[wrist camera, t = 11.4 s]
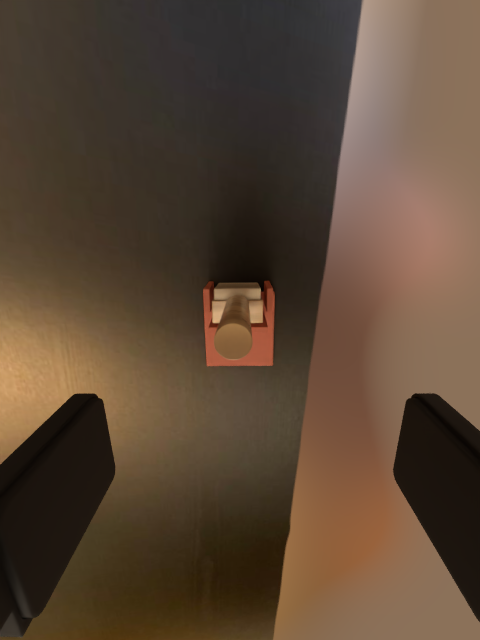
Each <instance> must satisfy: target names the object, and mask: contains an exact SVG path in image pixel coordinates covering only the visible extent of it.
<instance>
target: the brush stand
mask: <svg viewBox="0 0 480 640" xmlns="http://www.w3.org/2000/svg"><path fill="white" fill-rule="evenodd" d="M203 292H204V293H203V301H204V321H205V340H206V360H207V366H273V343H274V305H275V292H274V291H273V288H272V286H271V284H270V282H269V281H264V292H261V297H262V300H263V323H251V330H252V340H253V343H252V348H251V350H250V352H249V353H248V354H247V355H246V356H245V357H243V358H241V359H238V360H229V359H226V358H223V357H222V356H221V355H219V354H218V352H217V351H216V349H215V347H214V336H215V333H216V330H217V328H218V325H219V323H213V322H212V300H213V298H214V282H213V281H209V282H208V283H207V285H206V286H205V288H204V289H203Z"/></svg>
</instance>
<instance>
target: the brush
mask: <svg viewBox="0 0 480 640" xmlns="http://www.w3.org/2000/svg"><path fill="white" fill-rule="evenodd" d="M212 322H213V323H219V325H218V328H217V330H216V333H215V336H214V347H215V349H216V351H217V352H218V354H219V355H221V356H222V357H223V358H226V359H229V360H238V359H241V358H243V357H245V356H246V355H247V354H248V353H249V352H250V350H251V348H252V343H253V340H252V330H251V323H263V300H262V297H261V289H260V286H259V284H258V283H218V285H217V286H216V287H215V288H214V298H213V300H212Z"/></svg>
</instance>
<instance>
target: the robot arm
mask: <svg viewBox="0 0 480 640" xmlns="http://www.w3.org/2000/svg"><path fill="white" fill-rule="evenodd" d="M393 472H394V477H395V480H396V482H397V484H398V486H399V487H400V489H401V491H402V493H403V494H404V496H405V498H406V499H407V501H408V503H409V504H410V506H411V508H412V509H413V511H414V513H415V515H416V516H417V518H418V520H419V521H420V523H421V525H422V526H423V528H424V530H425V532H426V533H427V535H428V537H429V538H430V540H431V542H432V543H433V545H434V547H435V548H436V550H437V552H438V554H439V555H440V557H441V559H442V560H443V562H444V564H445V566H446V567H447V569H448V571H449V572H450V574H451V576H452V577H453V579H454V581H455V582H456V584H457V586H458V588H459V589H460V591H461V593H462V594H463V596H464V597H465V599H466V601H467V603H468V604H469V606H470V608H471V609H472V611H473V613H474V615H475V616H476V618H477V619H478V621H479V622H480V431H479V430H478V429H477V428H475V427H474V426H473V425H472V424H471V423H470V422H469V421H468V420H466V419H465V418H464V417H463V416H462V415H461V414H459V413H458V412H457V411H456V410H455V409H454V408H453V407H451V406H450V405H449V404H448V403H447V402H446V401H444V400H443V399H442V398H441V397H440V396H439V395H437V394H414V395H412V397H411V398H409V399H408V400H407V401H406V404H405V410H404V415H403V420H402V425H401V431H400V436H399V441H398V446H397V452H396V457H395V462H394V468H393ZM114 475H115V462H114V457H113V452H112V446H111V441H110V436H109V430H108V425H107V420H106V414H105V409H104V403H103V400H102V399H100V398H98V396H97V395H96V394H74V395H73V396H72V397H70V398H69V399H68V400H67V401H66V402H65V403H64V404H63V405H62V406H61V407H60V408H59V409H58V410H57V411H56V412H55V413H54V414H53V415H52V416H51V417H50V418H49V419H47V420H46V421H45V422H44V423H43V424H42V425H41V426H40V427H39V428H38V429H37V430H36V431H35V432H34V433H33V434H32V435H31V436H30V437H29V438H28V439H27V440H26V441H24V442H23V443H22V444H21V445H20V446H19V447H18V448H17V449H16V450H15V451H14V452H13V453H12V454H11V455H10V456H9V457H8V458H7V459H6V460H5V461H4V462H3V463H2V464H0V637H23V635H24V634H25V632H26V630H27V628H28V626H29V624H30V623H31V621H32V619H33V618H35V617H37V616H39V615H40V613H41V612H42V611H43V609H44V608H45V606H46V604H47V602H48V600H49V599H50V597H51V595H52V593H53V591H54V589H55V587H56V585H57V584H58V582H59V580H60V578H61V576H62V574H63V572H64V570H65V569H66V567H67V565H68V563H69V561H70V559H71V557H72V555H73V554H74V552H75V550H76V548H77V546H78V544H79V542H80V540H81V539H82V537H83V535H84V533H85V531H86V529H87V527H88V525H89V524H90V522H91V520H92V518H93V516H94V514H95V512H96V510H97V509H98V507H99V505H100V503H101V501H102V499H103V497H104V495H105V494H106V492H107V490H108V488H109V486H110V484H111V482H112V480H113V478H114Z"/></svg>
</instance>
